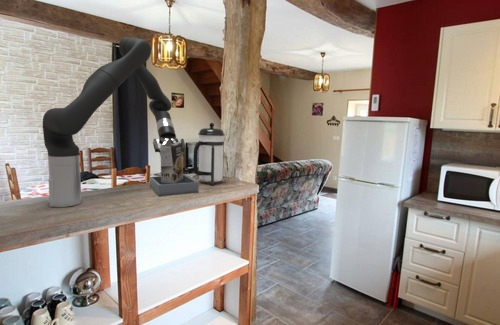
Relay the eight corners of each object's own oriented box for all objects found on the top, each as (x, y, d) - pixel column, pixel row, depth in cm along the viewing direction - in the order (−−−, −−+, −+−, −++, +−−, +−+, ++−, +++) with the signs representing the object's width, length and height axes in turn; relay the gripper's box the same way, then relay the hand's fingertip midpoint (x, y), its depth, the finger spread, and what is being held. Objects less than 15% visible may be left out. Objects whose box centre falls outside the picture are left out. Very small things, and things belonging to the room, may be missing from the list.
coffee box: (174, 183, 124) (173, 146, 120) (160, 182, 125) (159, 145, 121) (183, 178, 132) (182, 143, 129) (170, 177, 134) (169, 142, 130)
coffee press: (193, 179, 152) (194, 121, 148) (223, 179, 155) (225, 123, 151) (193, 187, 136) (193, 122, 131) (227, 187, 139) (229, 123, 134)
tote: (159, 196, 118) (158, 185, 117) (149, 186, 134) (149, 176, 133) (198, 192, 126) (198, 182, 125) (185, 183, 142) (185, 174, 141)
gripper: (151, 124, 131) (157, 153, 123) (182, 125, 138) (190, 152, 130) (149, 135, 136) (154, 163, 128) (179, 135, 144) (186, 162, 135)
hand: (172, 158), depth 129 cm, fingers closed on coffee box, 7 cm apart
